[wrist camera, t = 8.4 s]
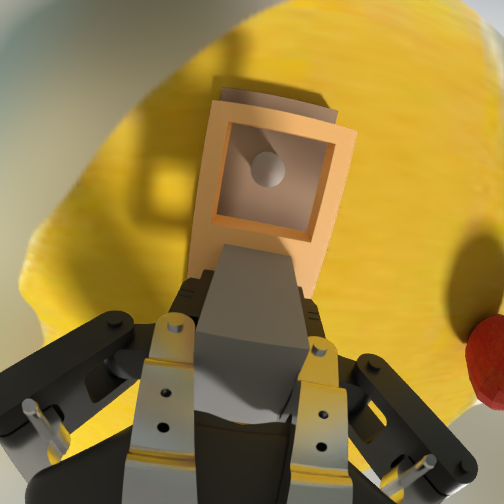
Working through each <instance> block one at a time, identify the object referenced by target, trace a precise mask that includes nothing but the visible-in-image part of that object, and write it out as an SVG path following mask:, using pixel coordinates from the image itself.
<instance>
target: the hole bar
mask: <svg viewBox="0 0 504 504" xmlns="http://www.w3.org/2000/svg"><path fill="white" fill-rule="evenodd" d="M232 123H236V124H242V125H248V126H253V127H259V128H264V129H269V130H274V131H279V132H284V133H288V134H293V135H297V136H301V137H306V138H310V139H314V140H318V141H322V142H325V143H328V144H327V148H326V153H325V157H324V161H323V166H322V170H321V174H320V178H319V183H318V187H317V191H316V195H315V199H314V203H313V207H312V211H311V215H310V219H309V223H308V226H307V230H306V232H305V231H301V230H296V229H291V228H286V227H281V226H276V225H271V224H266V223H260V222H255V221H250V220H245V219H239V218H234V217H229V216H223V215H218V214H217V208H218V201H219V195H220V189H221V183H222V177H223V171H224V165H225V160H226V154H227V149H228V143H229V138H230V132H231V127H232ZM357 132H358V131H355V130H352V129H349V128H345V127H342V126H339V125H335V124H332V123H328V122H324V121H321V120H317V119H313V118H309V117H305V116H301V115H297V114H292V113H288V112H283V111H278V110H273V109H268V108H263V107H257V106H252V105H246V104H239V103H233V102H226V101H218V100H212V104H211V110H210V115H209V120H208V126H207V131H206V137H205V143H204V149H203V155H202V161H201V167H200V174H199V181H198V188H197V195H196V202H195V210H194V217H193V226H192V234H191V243H190V252H189V262H188V273H187V279H189V278H190V277H192V278H197V279H200V278H201V275H202V273H203V270H204V269H207V270H212V271H215V272H214V275H213V278H212V281H211V284H210V287H209V290H208V294H207V297H206V300H205V303H204V306H203V309H202V312H201V315H200V318H199V321H198V324H197V328H196V331H195V341H194V410H197V411H202V412H208V413H210V414H213V415H215V416H218V417H221V418H223V419H226V420H228V421H233V422H240V423H248V424H260V423H269V422H276V420H277V415H278V413H279V411H280V409H281V408H284V406H285V403H286V401H287V399H288V397H289V395H290V393H291V391H292V389H293V385H294V379H295V377H296V375H297V372H298V370H301V369H302V367H303V365H304V362H305V360H306V358H307V356H308V353H309V351H310V346H309V341H308V335H307V330H306V325H305V320H304V315H303V310H302V305H301V300H300V295H299V290H298V286H300V287H302V290H303V294H304V298H307V299H311V298H312V295H313V292H314V289H315V286H316V283H317V279H318V276H319V273H320V270H321V267H322V264H323V261H324V257H325V254H326V251H327V248H328V244H329V241H330V238H331V234H332V231H333V227H334V224H335V220H336V217H337V213H338V209H339V206H340V202H341V198H342V195H343V191H344V187H345V183H346V179H347V175H348V171H349V167H350V163H351V158H352V154H353V150H354V145H355V141H356V136H357Z"/></svg>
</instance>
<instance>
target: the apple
mask: <svg viewBox="0 0 504 504" xmlns="http://www.w3.org/2000/svg"><path fill="white" fill-rule="evenodd" d="M465 357H466V362H467V368H468V373H469V379H470V381H471V384H472V386H473V389H474V391H475V394H476V396H477V399H478V400H480V401H481V402H483V403H484V404H485V405H487V406H488V407H490V408H491V409H493V410H502V411H503V410H504V315H501V314H497V315H494V316H491V317H489V318H487V319H484V320H482V321H481V322H480V323H478V324H477V326H476V327H475V328H474V329H473V331H472V332H471V334H470V336H469V339H468V342H467V346H466V350H465Z"/></svg>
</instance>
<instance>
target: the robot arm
mask: <svg viewBox="0 0 504 504" xmlns="http://www.w3.org/2000/svg"><path fill="white" fill-rule="evenodd" d="M214 272H215V271H212V270H207V269H204V270H203V273H202V275H201V278H200V279H197V278H192V277H190V278H189V279H187V280H186V281H184V282H183V284H182V286H181V288H180V290H179V292H178V294H177V296H176V298H175V300H174V302H173V304H172V306H171V308H170V310H169V312H168V313H166V314H163V315H161V316H160V317H159V318H158V319H157V321H156V323H154V324H134V321H133V318H132V317H131V316H130V315H129V314H127V313H125V312H122V311H108V312H105V313H103V314H101V315H99V316H97V317H96V318H94V319H92V320H90V321H89V322H87V323H85V324H83V325H82V326H80V327H78V328H76V329H74V330H73V331H71V332H69V333H67V334H66V335H64V336H62V337H60V338H59V339H57V340H55V341H53V342H52V343H50V344H48V345H47V346H45V347H43V348H41V349H40V350H38V351H36V352H34V353H33V354H31V355H29V356H28V357H26V358H24V359H22V360H21V361H19V362H17V363H16V364H14V365H12V366H11V367H9V368H7V369H6V370H4V371H2V372H1V373H0V444H1V445H2V447H3V448H4V450H5V452H6V453H7V455H8V456H9V458H10V459H11V461H12V462H13V463H14V465H15V467H16V468H17V469H18V471H19V472H20V473H21V475H22V476H23V478H24V479H25V480H26V482H27V483H28V485H27V488H26V493H25V504H440V503H441V502H442V501H443V500H444V499H446V498H448V497H449V496H451V495H453V494H454V493H456V492H457V491H459V490H460V489H462V488H463V487H465V486H466V485H468V484H469V483H471V482H472V481H473V480H474V479H475V478H476V476H477V472H478V465H477V462H476V460H475V458H474V457H473V456H472V455H471V453H470V452H469V451H468V450H467V449H466V448H465V447H464V446H463V444H462V443H461V442H460V441H459V440H458V439H457V438H456V437H455V436H454V435H453V433H452V432H451V431H450V430H449V429H448V428H447V427H446V426H445V424H444V423H443V422H442V421H441V420H440V419H439V418H438V417H437V416H436V415H435V414H434V412H433V411H432V410H431V409H430V408H429V407H428V406H427V405H426V404H425V403H424V402H423V401H422V400H421V398H420V397H419V396H418V395H417V394H416V393H415V392H414V391H413V390H412V389H411V388H410V387H409V386H408V385H407V384H406V382H405V381H404V380H403V379H402V378H401V377H400V376H399V375H398V374H397V373H396V372H395V371H394V370H393V369H392V368H391V367H390V366H389V365H388V363H387V362H386V361H385V360H383V359H382V358H381V357H379V356H377V355H374V354H363V355H361V356H359V358H358V359H357V361H354V360H351V359H348V358H345V357H342V356H340V355H338V354H337V349H336V347H335V346H334V344H333V343H331V342H330V341H329V340H327V339H326V337H325V334H324V330H323V326H322V322H321V321H320V320H321V319H320V315H319V312H318V308H317V306H316V304H315V303H314V302H313V301H312V300H311V299H307V298H304V294H303V290H302V287H300V286H298V290H299V295H300V300H301V305H302V310H303V315H304V320H305V325H306V330H307V335H308V341H309V346H310V351H309V353H308V356H307V358H306V360H305V362H304V365H303V367H302V369H301V370H298V372H297V375H296V377H295V379H294V385H293V389H292V391H291V393H290V395H289V397H288V399H287V401H286V403H285V406H284V408H281V409H280V411H279V413H278V415H277V420H276V422H269V423H260V424H249V425H240V424H237V423H234V422H231V421H228V420H226V419H223V418H221V417H218V416H215V415H213V414H210V413H208V412H202V411H197V410H194V341H195V331H196V328H197V324H198V321H199V318H200V315H201V312H202V309H203V306H204V303H205V300H206V297H207V294H208V290H209V287H210V284H211V281H212V278H213V275H214ZM98 364H99V365H98ZM138 379H141V380H140V385H139V391H138V396H137V402H136V408H135V415H134V421H133V425H131V426H129V427H128V428H126V429H124V430H122V431H120V432H119V433H117V434H115V435H113V436H111V437H109V438H107V439H106V440H104V441H102V442H100V443H98V444H96V445H94V446H92V447H90V448H88V449H86V450H84V451H82V452H80V453H78V454H76V455H73V456H71V457H69V458H67V459H65V460H63V461H60V460H61V458H62V456H63V455H64V454H66V452H67V450H68V448H69V446H70V434H71V433H72V432H74V431H75V430H76V429H77V428H79V427H80V426H81V425H83V424H84V423H85V422H86V421H88V420H89V419H90V418H92V417H93V416H94V415H95V414H97V413H98V412H99V411H100V410H102V409H103V408H104V407H106V406H107V405H108V404H109V403H111V402H112V401H113V400H114V399H116V398H117V397H118V396H119V395H121V394H122V393H123V392H124V391H126V390H127V389H128V388H129V387H131V386H132V385H133V384H134V383H135V382H136V381H137V380H138ZM371 400H372V401H373V402H374V404H375V405H376V406H377V407H378V408H379V410H380V411H381V412H382V413H383V414H384V416H385V417H386V420H387V425H386V427H385V426H384V425H383V423H382V422H381V421H380V420H379V418H378V417H377V416H376V415H375V414H374V412H373V411H372V410H371V409H370V407H369V406H368V404H369V402H370V401H371ZM348 437H349V438H350V439H351V441H352V442H353V444H354V445H355V446H356V448H357V449H358V450H359V452H360V453H361V454H362V456H363V457H364V459H365V460H366V461H367V463H368V464H369V465H370V467H371V468H372V469H373V471H374V472H375V473H376V475H377V476H378V477H379V479H380V480H381V485H380V486H381V488H380V489H379V488H378V487H377V486H376V485H375V484H373V483H372V482H371V481H370V480H369V479H368V478H367V477H366V476H365V475H363V474H362V473H361V472H360V471H359V470H358V469H357V468H356V467H355V466H354V465H353V464H352V463H350V462H349V461H348Z"/></svg>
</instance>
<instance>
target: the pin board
mask: <svg viewBox="0 0 504 504" xmlns="http://www.w3.org/2000/svg"><path fill="white" fill-rule="evenodd" d="M220 101H226V102H233V103H239V104H246V105H252V106H257V107H263V108H268V109H273V110H278V111H283V112H288V113H292V114H297V115H301V116H305V117H309V118H313V119H317V120H321V121H324V122H328V123H332V124H335V123H336V118H337V113H338V111H336V110H333V109H329V108H326V107H322V106H318V105H314V104H311V103H306V102H302V101H298V100H294V99H289V98H285V97H280V96H275V95H270V94H264V93H259V92H253V91H247V90H240V89H233V88H225V87H223V89H222V93H221V98H220ZM327 144H328V143H325V142H322V141H318V140H314V139H310V138H306V137H301V136H297V135H293V134H288V133H284V132H279V131H274V130H269V129H264V128H259V127H253V126H248V125H242V124H236V123H232V127H231V132H230V138H229V143H228V149H227V154H226V160H225V165H224V171H223V177H222V183H221V189H220V195H219V201H218V208H217V214H218V215H223V216H229V217H234V218H239V219H245V220H250V221H255V222H260V223H266V224H271V225H276V226H281V227H286V228H291V229H296V230H301V231H305V232H306V230H307V226H308V223H309V219H310V215H311V211H312V207H313V203H314V199H315V195H316V191H317V187H318V183H319V178H320V174H321V170H322V166H323V161H324V157H325V153H326V148H327Z"/></svg>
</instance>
